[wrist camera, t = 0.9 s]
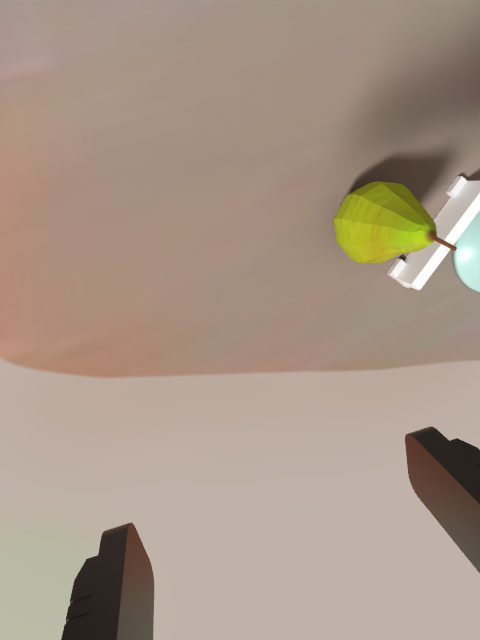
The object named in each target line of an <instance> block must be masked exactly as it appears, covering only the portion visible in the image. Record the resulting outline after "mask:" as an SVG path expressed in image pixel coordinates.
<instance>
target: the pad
mask: <svg viewBox="0 0 480 640" xmlns="http://www.w3.org/2000/svg"><path fill="white" fill-rule="evenodd" d="M454 246H456V247H457V249H456V250H455V251H454V250H453V264H454V268H455V271H456V274H457V276H458V277H459V279H460V280H461V281H462V282H463V283H464V284H465V285H466V286H467V287H469V288H471V289H473V290H475V291H478V292H480V210H479V212H478V213H477V214H476V216H475V217H474V218H473V220H472V221H471V222H470V224H469V225H468V226H467V228H466V229H465V230H464V232H463V233H462V234H461V236H460V237H459V238H458V240H457V241H456V242H455V244H454Z"/></svg>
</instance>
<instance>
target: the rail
mask: <svg viewBox="0 0 480 640" xmlns="http://www.w3.org/2000/svg"><path fill="white" fill-rule="evenodd" d="M446 193H447V194H448V195H449V196H450V199H449V200H448V201H447V203H446V204H445V206H444V207H443V208H442V210H441V211H440V212H439V214H438V215H437V216H436V218H435V219H434V220H433V221H434V222H435V224H436V231H437V237H439V238H441V239H442V240H444V241H446V242H448V243H450V244H452V245H454V244H455V242H456V241H457V240H458V238H459V237H460V236H461V234H462V233H463V232H464V230H465V229H466V228H467V226H468V225H469V224H470V222H471V221H472V220H473V218H474V217H475V216H476V214H477V213H478V212H479V210H480V181H467V180H466V179H465V178H464V177H463V176H457V177H456V179H455V180H454V181H453V183H452V184H451V186H450V187H449V188H448V190H447V191H446ZM449 250H450V248H448V247H446V246H444V245H442V244H440V243H439V242H437V241H434V242H433V243H432V244H431V245H430V246H428V247H426V248H424V249H422V250H420V251H418V252H410V253H409V255H408V256H407V257H406V259H405V260H404V261H403V260H402V259H399V258H397V259H396V261H395V262H394V264H393V265H392V266H391V268H390V269H389V270H388V272H387V274H388V275H390V276H391V277H392V278H394V279H395V280H396V281H398V282H399V283H400V284H402V285H403V286H404V287H406V288H409V287H412V288H414V289H417V290H420V289H421V288H422V286H423V285H424V284H425V282H426V281H427V280H428V278H429V277H430V276H431V274H432V273H433V272H434V270H435V269H436V268H437V266H438V265H439V264H440V262H441V261H442V260H443V258H444V257H445V256H446V254H447V253H448V252H449Z"/></svg>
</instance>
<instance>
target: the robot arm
mask: <svg viewBox="0 0 480 640" xmlns="http://www.w3.org/2000/svg"><path fill="white" fill-rule="evenodd" d="M405 443H406V454H407V465H408V474H409V479H410V482H411V484H412V487H413V489H414V491H415V493H416V494H417V496H418V497H419V498H420V500H421V501H422V502H423V503H424V505H425V506H426V507H427V508H428V510H429V511H430V512H431V513H432V514H433V516H434V517H435V518H436V519H437V521H438V522H439V523H440V525H441V526H442V527H443V528H444V529H445V531H446V532H447V533H448V534H449V536H450V537H451V538H452V539H453V541H454V542H455V543H456V544H457V546H458V547H459V548H460V549H461V551H462V552H463V553H464V554H465V555H466V557H467V558H468V559H469V560H470V561H471V563H472V564H473V565H474V566H475V568H476V569H477V570H478V572H479V573H480V450H479V449H478V448H477V447H475V446H472V445H470V444H468V443H466V442H464V441H462V440H459V439H454V440H451V441H449V440H448V439H447V438H446V437H444V436H443V435H442V434H441V433H440V432H439V431H438V430H437V429H435V428H434V427H428V428H424V429H422V430H419V431H415V432H412V433H409V434H407V435H406V437H405ZM153 615H154V578H153V571H152V567H151V563H150V560H149V558H148V555H147V553H146V551H145V549H144V546H143V544H142V542H141V539H140V537H139V535H138V533H137V530H136V528H135V526H134V525H133V523H128V524H125V525H122V526H119V527H116V528H113V529H110V530H107V531H104V532H103V534H102V537H101V542H100V548H99V554H98V556H95V557H92V558H89V559H86V561H85V563H84V565H83V567H82V568H81V570H80V572H79V573H78V575H77V577H76V579H75V581H74V585H73V590H72V594H71V599H70V606H69V608H68V613H67V617H66V624H65V626H64V631H63V635H62V639H61V640H153Z"/></svg>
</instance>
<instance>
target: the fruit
mask: <svg viewBox="0 0 480 640" xmlns="http://www.w3.org/2000/svg"><path fill="white" fill-rule="evenodd" d="M334 226H335V234H336V242H337V243H338V244H339V245H340V247H341V248H342V249H343V250H344V251H345V252H346V253H347V255H348V256H349V257H350V258H351V259H352V260H354V261H356V262H357V263H381V262H384V261H386V260H388V259H390V258H392V257H394V256H396V255H398V254H404V253H409V252H418V251H420V250H422V249H424V248H426V247H428V246H430V245H431V244H432V243H433V242H434V241H437V242H439V243H440V244H442V245H444V246H446V247H448V248H450V249H452V250H454V251H455V250H456V249H457V247H456V246H454V245H452V244H450V243H448V242H446V241H444V240H442V239H441V238H439V237H437V231H436V224H435V222H434V221H433V219H432V218H431V217H430V215H429V214H428V213H427V211H426V210H425V209H424V208H423V206H422V205H421V204H420V203H419V201H418V200H417V199H416V198H415V197H414V196H413V194H412V193H411V192H410V191H409V190H408V189H407V188H406V187H405V186H404V185H402V184H399V183H390V182H380V181H375V182H371V183H368V184H367V185H365V186H363V187H361V188H359V189H357V190H356V191H354V192H352V193H350V194H348V195H347V196H346V197H345V199H344V201H343V202H342V204H341V206H340V208H339V210H338V212H337V214H336V216H335V218H334Z"/></svg>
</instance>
